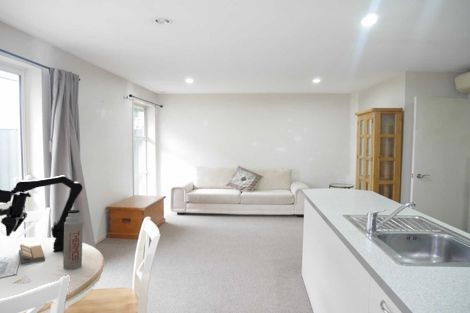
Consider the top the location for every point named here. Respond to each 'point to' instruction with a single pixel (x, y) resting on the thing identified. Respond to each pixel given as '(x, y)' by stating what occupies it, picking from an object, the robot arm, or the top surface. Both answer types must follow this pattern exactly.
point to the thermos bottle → (73, 241)
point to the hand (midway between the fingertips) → (11, 233)
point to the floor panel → (33, 255)
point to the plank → (25, 251)
